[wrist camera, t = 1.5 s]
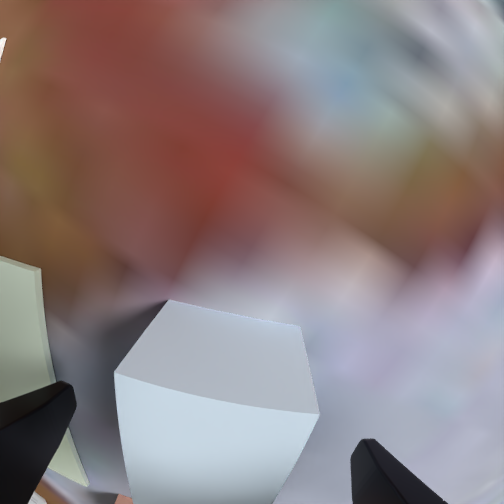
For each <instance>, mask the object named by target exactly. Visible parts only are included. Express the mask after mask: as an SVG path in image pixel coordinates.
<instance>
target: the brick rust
mask: <svg viewBox="0 0 504 504" xmlns="http://www.w3.org/2000/svg"><path fill="white" fill-rule="evenodd" d="M115 504H133V501H132V498H129V497H126V496H123V495H120V494H118V497H117V499H116V502H115Z"/></svg>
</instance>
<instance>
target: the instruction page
mask: <svg viewBox="0 0 504 504" xmlns="http://www.w3.org/2000/svg"><path fill="white" fill-rule="evenodd" d="M5 42H6V38H2V39H0V60H1V56H2V52H3V49H4V45H5Z"/></svg>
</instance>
